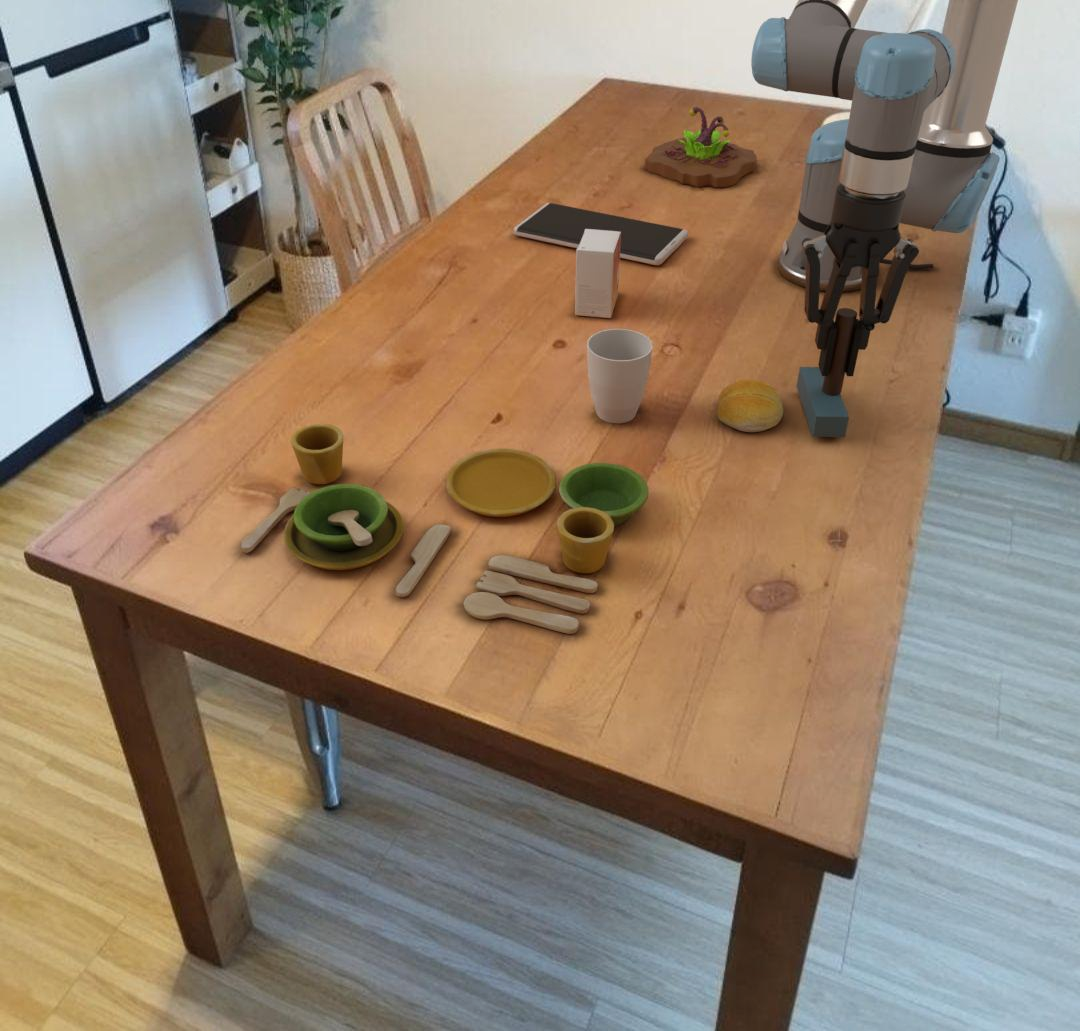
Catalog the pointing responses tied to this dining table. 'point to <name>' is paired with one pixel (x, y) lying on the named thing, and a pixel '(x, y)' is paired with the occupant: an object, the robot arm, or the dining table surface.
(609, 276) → the small box
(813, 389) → the hammer
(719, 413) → the bread roll
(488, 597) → the tableware set
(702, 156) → the plant
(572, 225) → the smartphone
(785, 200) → the dining table surface
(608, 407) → the cup
